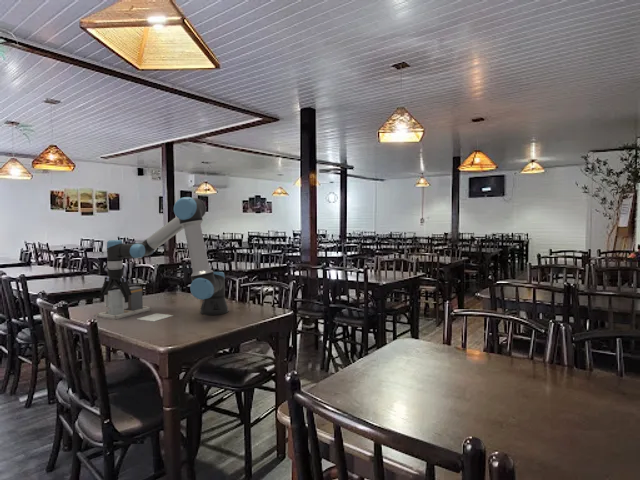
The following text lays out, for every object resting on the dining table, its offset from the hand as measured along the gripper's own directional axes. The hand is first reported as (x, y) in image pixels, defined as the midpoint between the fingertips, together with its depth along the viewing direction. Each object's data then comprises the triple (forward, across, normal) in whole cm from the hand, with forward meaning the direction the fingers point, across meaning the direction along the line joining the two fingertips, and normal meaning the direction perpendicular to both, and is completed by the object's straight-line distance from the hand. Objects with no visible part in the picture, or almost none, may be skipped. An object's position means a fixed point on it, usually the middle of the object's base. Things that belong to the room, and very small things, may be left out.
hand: (116, 307), depth 228 cm
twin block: (+4, 0, -12) cm, 12 cm away
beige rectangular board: (+4, 0, -6) cm, 7 cm away
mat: (+4, -23, -5) cm, 24 cm away
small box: (+4, 0, 0) cm, 4 cm away
